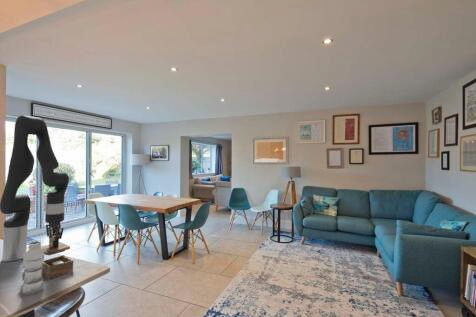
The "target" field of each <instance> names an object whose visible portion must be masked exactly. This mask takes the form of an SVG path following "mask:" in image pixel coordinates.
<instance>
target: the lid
mask: <svg viewBox="0 0 476 317" xmlns="http://www.w3.org/2000/svg"><path fill="white" fill-rule="evenodd" d="M57 237H58V236H57ZM40 248H41V249H42V250H43V252H44V254H45V255H44V256H52V255H56V254H59V253H62V252H65V251H67V250H71V247H70V246H69V245H67V244H66V243H63V242H59V246H58V247H55V248H53V236H52V237H50V241H49V240H48V244H46V245H43V246H42V245H41V247H40Z"/></svg>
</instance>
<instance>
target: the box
mask: <svg viewBox="0 0 476 317" xmlns="http://www.w3.org/2000/svg"><path fill="white" fill-rule="evenodd" d="M60 260H61V261H63V262H64V263H62V264H59V265H55V266H52V263H53V262H57V261H60ZM73 272H74V260H73V259H72V258H69V257H68V256H65V255H60V256H57V257H53V258H49V259H44V260H43V267H42V276H44V277H45V278H47V279H48V280H52V279H55V278H56V279H57V278H59V277H61V276H64V275H68V274H70V273H73Z"/></svg>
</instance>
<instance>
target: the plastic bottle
mask: <svg viewBox="0 0 476 317" xmlns="http://www.w3.org/2000/svg"><path fill="white" fill-rule="evenodd" d="M41 244H42V242H41V241H31V242H29V243H28V246H27V249H28V250H26V254H25V255H24V257H23V258H22V260H23V261H24V267H25V269H24V270H25V277H24V281H23V283H22V285H21V286H22V287H21V292H22V294H23V295H24V296H25V295H26V296H31V295H36V294H38V293H39V292H42V290H43V289H44V278H43V275H42V267H43V261H45V256H46V255H45V254H44V252H43V250H42V249H41V248H40V247H42V245H41Z"/></svg>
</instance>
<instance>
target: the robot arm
mask: <svg viewBox="0 0 476 317" xmlns="http://www.w3.org/2000/svg"><path fill="white" fill-rule="evenodd" d="M13 134H14V135H13V145H12V150H11V151H12V152H11V156H10V160H9V166H8V172H7V176H6V182H5V186H4V189H3V192H2V196H1V199H0V212H1V213H2V214H3V215H11V214H14V215H13V216H11V217H10V218H8V219H6V220H5V221H4V223H3V231H2V232H3V233H2V234H3V236H2V257H1V261H2V262H6V263H9V262H16V261H19V260H20V261H21V260H23V257H24V255H25V254H26V252H27V251H28V250H27V249H28V225H29V223H28V222H29V219H30V216H31V215H30V214H31V208H32V207H31V206H32V202H31V198H30V196H29V195H28V194H18V193H17V192H18V191H19V189H20V187H21V185H22V184H24V182H25V181H27V179H28V178H29V177H30V176H31V175H32V173H33V171H34V166H35V157H34V155H33V153H32V151H31V149H30V148H29V144H28V143H29V135H30V136H31V135H33V136H36V138H37V139H38V146H37V147H38V148H37V151H36V158H37V161H38V163H39V164H40V165H39V166H40V167H41V176H42V178H41V179H42V183H43V184H44V185H45V186H47V187H48V188H52V187H54V188H53V190H50V191H48V193H46V194H47V195H46V205H45V214H44V215H45V217H44V218H45V219H44V222H45V223H46V224H45V228H46V236H47V237H48V239H49V240H48V242H49V241H50V237H52V236H53V248H55V247H58V246H59V241H60V240H61V239H62V236H63V234H64V227H62V226H61V223H62V222H63V221H64V220H65V195H66V191H67V189H68V185H69V181H70V179H69V178H70V177H69V175H68V174H67V173H66V172H64V171H59V172H56V171H55V170H56V169H58V168H59V166H60V164H59V161H58V159H57V157H56V154H55V153H54V150H53V147H52V144H51V140H50V139H51V138H50V135H49V134H50V133H49V130H48V126H47V124H46V122H45V120H44V119H42V118H41V117H35V116H29V115H24V114H22V115H19V116H18V117H17V118H16V120H15V123H14V131H13ZM57 236H58V237H57Z"/></svg>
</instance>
